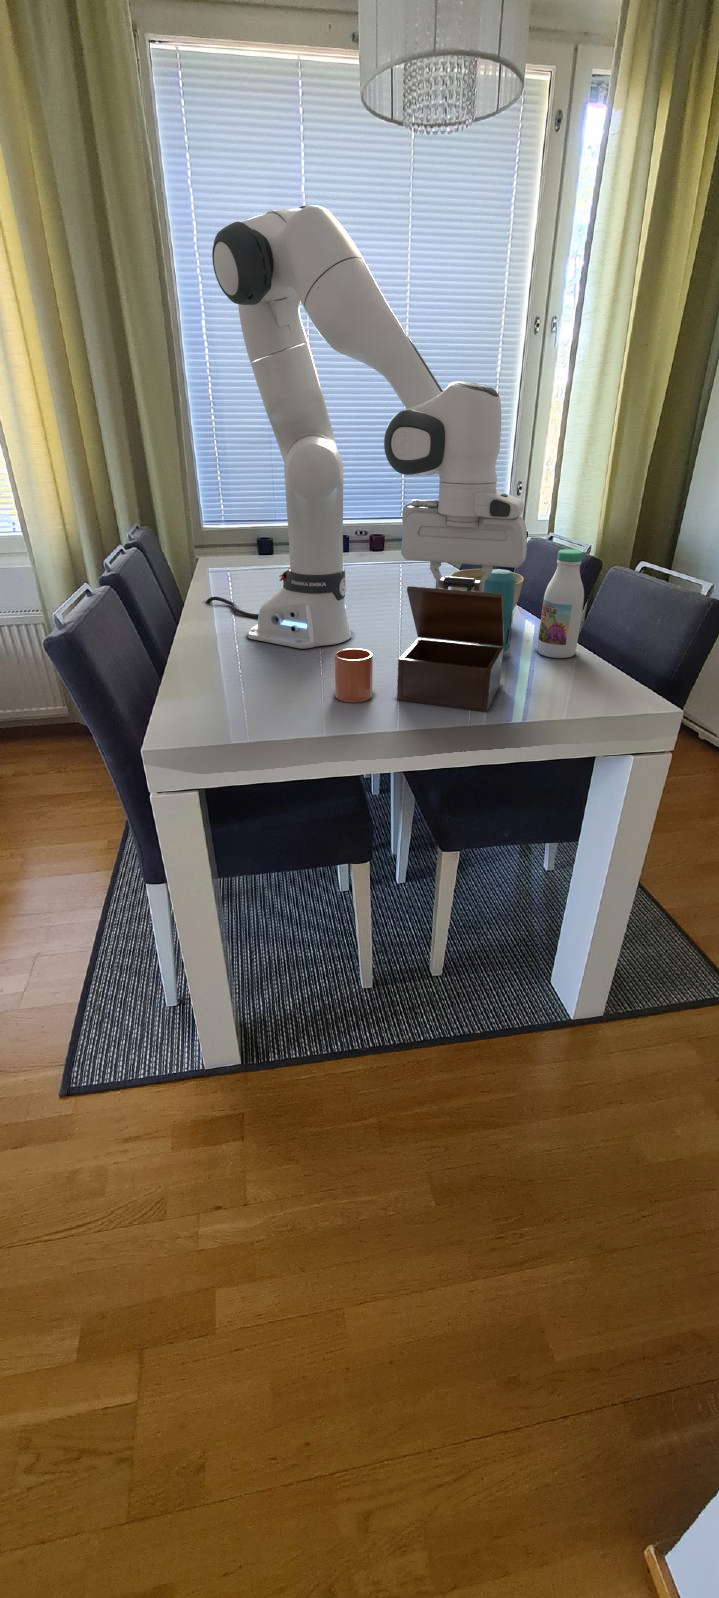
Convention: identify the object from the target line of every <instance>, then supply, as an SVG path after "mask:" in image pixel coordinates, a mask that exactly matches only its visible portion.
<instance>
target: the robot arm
mask: <svg viewBox="0 0 719 1598" xmlns="http://www.w3.org/2000/svg"><path fill="white" fill-rule="evenodd" d="M211 258H212V266H213V267H212V268H213V271H214V275H215V277H216V282H217V284H218V286H219V288H220V289H221V291H222V292H223V294H224V295H225V296H226V297H227V298H228V299H229V300H230V302H231V303H233V304H236V305H237V307H238V315H239V321H240V327H241V332H242V337H243V342H244V345H245V350H246V353H247V356H248V360H249V363H250V366H251V369H252V372H253V375H254V378H255V382H256V385H257V388H258V391H259V394H260V398H261V400H262V404H263V407H264V410H265V412H266V415H267V418H268V421H269V423H270V425H271V429H272V432H273V434H274V438H275V440H276V443H277V446H278V448H279V452H280V455H281V458H282V461H283V463H284V464H283V465H284V466H283V472H284V487H285V489H284V490H285V504H286V517H287V532H288V549H289V550H288V551H289V553H288V554H289V568H287V570H286V571H284V572H282V573H281V574H280V575H278V577H279V582H282V584H283V585H282V588H280V589H279V590H278V591H276V592H275V593H274V594H273V595H272V596H271V597H269V598H268V599H267V600H266V601H265V602H264V603H263V604H262V605H261V606H260V608H259V611H258V613H251V612H247V611H244V610H242V609H240V608H237V605H236V603H235V602H234V601H231V600H228V599H226V598H224V597H221V596H211V597H209V598H208V599H207V600H206V601H205V604H210V603H212V602H213V601H217V602H222V603H224V604H226V605H229V606H231V607H232V610H233V611H234V612H235V613H236V614H239V615H241V616H244V617H248V618H253V619H257V624H255V625H254V626H252V627H251V628H249V630H248V631H247V637H248V639H250V640H253V641H254V640H255V641H259V642H260V641H261V642H265V643H270V644H275V645H280V646H286V647H290V648H296V649H301V650H304V649H305V650H306V649H310V648H315V647H323V646H332V645H337V644H341V643H344V642H346V641H348V640H350V639H351V638H352V633H351V632H352V631H351V630H350V625H349V621H348V616H347V610H346V609H347V605H346V599H345V598H346V594H347V593H346V592H347V579H346V569H344V464H343V459H342V456H341V455H340V452H339V448H338V445H337V441H336V438H335V434H334V430H333V428H332V424H331V420H330V416H329V412H328V410H327V409H328V408H327V406H326V401H325V398H324V394H323V390H322V387H321V383H320V379H319V375H318V372H317V369H316V366H315V362H314V359H313V355H312V351H311V348H310V344H309V341H308V338H307V334H306V331H305V328H304V325H303V321H302V318H301V314H300V313H301V312H300V305H302V306H303V309H304V311H305V312H306V314H307V316H308V318H309V320H310V321H311V323H312V325H313V327H314V328H315V329H316V331H317V333H318V334H319V335H320V336H321V338H322V339H323V340H324V341H325V342H326V343H327V344H328V346H329V347H330V348H331V349H333V350H334V351H335V352H337V353H339V354H342V355H343V356H346V357H349V358H351V359H354V360H355V361H358V362H360V363H363V364H364V365H366V366H368V367H370V368H371V369H373V370H374V371H376V372H378V373H379V374H380V375H381V376H382V377H383V378H384V379H385V380H386V381H387V382H388V384H389V385H390V386H391V388H392V389H393V391H394V392H395V394H396V396H397V397H398V399H399V400H400V402H401V403H402V405H403V407H404V408H405V409H404V410H401V411H399V412H397V413H396V414H395V415H393V416H392V418H391V419H390V421H389V422H388V424H387V426H386V428H385V432H384V439H383V448H384V449H383V450H384V455H385V457H386V460H387V462H388V464H389V465H390V466H391V467H390V468H392V469H393V470H394V471H395V472H397V473H399V474H401V475H403V476H404V475H405V476H407V477H421V476H423V477H424V476H431V475H432V476H434V475H438V476H439V481H438V482H439V484H438V498H437V499H426V500H425V499H424V500H423V499H422V500H421V499H411V501H410V502H407V503H406V504H405V505H404V507H403V508H402V513H401V514H402V515H401V517H402V519H401V521H402V525H403V532H402V537H401V547H400V555H401V556H402V557H403V559H404V560H405V561H416V562H418V561H419V562H428V563H429V562H430V563H429V570H430V571H431V574H432V575H433V577H434V579H435V588H438V589H443V586H444V585H443V581H444V577H443V576H442V573H441V571H440V568H441V567H442V563H444V564H445V563H446V564H458V565H473V566H481V569H482V572H485V574H484V576H483V577H482V579H481V580H476V581H475V582H474V589H473V591H474V592H484V584H485V581H486V579H487V578H488V576H489V575H490V573H491V572H492V570H493V569H494V567H499V568H515V569H517V568H520V567H521V566H522V565H523V564H524V563H525V561H526V558H527V549H528V535H527V534H528V533H527V524H526V522H525V519H524V518H523V517H522V516H521V515H522V514H523V511H524V505H525V504H524V501H523V500H522V499H521V498H518V497H516V496H513V495H510V494H508V493H506V492H503V491H500V490H498V489H497V481H498V478H497V471H496V464H497V459H498V457H499V453H500V450H501V436H502V403H501V398H500V395H499V393H498V392H497V391H496V389H495V388H494V387H491V386H489V385H486V384H481V383H478V382H469V381H465V380H463V381H462V380H456V381H453V382H450V383H449V384H448V386H447V387H446V388H444V390H443V389H442V387H441V385H440V384H439V382H438V380H437V379H436V378H435V376H434V374H433V373H432V371H431V370H430V368H429V366H428V365H427V363H426V362H425V360H424V358H423V357H422V355H421V354H420V352H419V350H418V349H417V347H416V346H415V344H414V343H413V341H412V340H411V338H410V336H409V335H408V334H407V332H406V331H405V329H404V328H403V327H402V325H401V323H400V321H399V320H398V318H397V316H396V315H395V312H394V311H393V310H392V308H391V307H390V304H388V301H387V300H386V298H385V296H384V294H383V293H382V291H381V289H380V287H379V286H378V285H379V284H378V283H377V282H376V280H375V278H374V276H373V274H372V273H371V271H370V269H369V267H368V265H367V263H366V262H365V259H364V258H363V256H362V254H361V252H360V250H359V249H358V248H357V246H356V244H355V243H354V241H353V240H352V238H351V237H350V236H349V234H348V233H347V231H346V229H344V227H343V226H342V224H341V223H340V222H339V221H338V220H337V219H336V217H335V216H334V215H333V214H332V213H331V211H330V210H328V209H327V208H325V207H323V206H321V205H314V204H313V205H302V206H299V207H296V208H295V207H294V208H282V209H274V210H269V211H267V212H266V213H264V214H260V215H256V216H253V217H250V218H248V219H246V220H243V221H233V222H232V223H230V224H228V225H226V226H224V227H223V228H222V229H221V230H219V231H218V232H217V233H216V235H215V237H214V241H213V245H212V252H211Z"/></svg>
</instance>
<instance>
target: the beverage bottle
mask: <svg viewBox="0 0 719 1598" xmlns="http://www.w3.org/2000/svg"><path fill="white" fill-rule="evenodd" d="M493 569H494V568H493ZM512 572H513V571H511V570H508V569H500V568H497V569H496V568H495V569H494V570H492V572H491V573H490V575H489V576H488V578H487V579H486V581H485V584H484V592H486V593H498V594H503V620H504V646H499V645H490V646H499V647H504V649H503V653H506V652H508V651H509V649H510V646H511V639H512V629H513V627H512V626H513V619H514V618H513V617H514V612H513V611H514V609H513V604H514V590H515V581H516V577H515V575H514V574H513V573H514V572H513V573H512ZM477 644H479V643H477ZM481 645H489V644H481Z"/></svg>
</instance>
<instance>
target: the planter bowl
mask: <svg viewBox="0 0 719 1598" xmlns="http://www.w3.org/2000/svg"><path fill="white" fill-rule="evenodd" d="M493 570H494V568H493ZM511 572H512V573H513V574H514V575H515V577H516V581H515V590H514V604H513V610H515V608H516V606H517V604H518V601H519V599H520V595H521V591H522V586H523V583H524V580H525V579H524V576H523V575H520V574H519V573H517V572H513V571H511ZM484 574H485V572H482V568H469V569H461V570H457V571H454V572H452V573H451V574H450V575H449V577H461V578H474V579H475V581H476V580H481V579H482V577H483V576H484ZM450 590H462V591H467V588H458V587H450ZM472 591H473V589H472Z"/></svg>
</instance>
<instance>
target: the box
mask: <svg viewBox="0 0 719 1598" xmlns="http://www.w3.org/2000/svg"><path fill="white" fill-rule="evenodd" d="M503 649H504V647H499V646H490V645H481V644H478V643H470V642H460V641H451V640H441V639H431V638H422V637H417V639H416V640H414V642H413V643H412V644H411V645H410V646H409V647H408V648H407V649H406V650H405V651H404V652H403V653H402V654H401V656H400V657H399V658H398V659H397V689H396V690H397V691H396V700H397V701H403V702H404V701H405V702H411V703H412V702H413V703H417V704H418V703H419V704H426V705H435V706H441V707H449V708H457V709H464V710H471V711H472V710H473V711H480V712H488V710H489V708H490V706H491V704H492V702H493V700H494V698H495V695H496V693H497V691H498V689H499V688H500V686H501V675H502V667H503V656H504V652H503Z"/></svg>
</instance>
